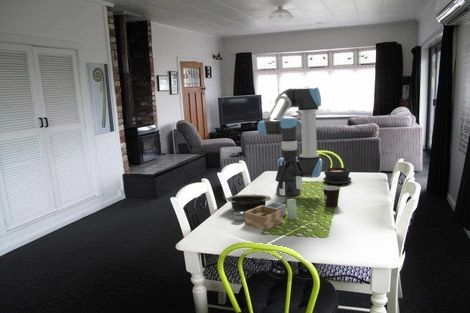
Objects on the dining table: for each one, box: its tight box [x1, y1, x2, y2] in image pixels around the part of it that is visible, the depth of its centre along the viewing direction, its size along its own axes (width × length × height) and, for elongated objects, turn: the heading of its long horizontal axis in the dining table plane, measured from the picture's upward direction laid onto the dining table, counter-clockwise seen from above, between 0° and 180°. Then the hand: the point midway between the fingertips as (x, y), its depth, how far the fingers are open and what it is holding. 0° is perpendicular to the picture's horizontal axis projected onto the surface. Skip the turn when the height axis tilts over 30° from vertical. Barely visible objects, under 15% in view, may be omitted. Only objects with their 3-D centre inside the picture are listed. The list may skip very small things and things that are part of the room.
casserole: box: [322, 167, 352, 185], centre depth 256 cm, size 25×19×8 cm
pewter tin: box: [233, 210, 246, 223], centre depth 190 cm, size 6×6×5 cm
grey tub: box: [265, 201, 287, 217], centre depth 194 cm, size 8×8×6 cm
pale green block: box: [286, 198, 298, 220], centre depth 188 cm, size 4×4×10 cm
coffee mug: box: [322, 185, 340, 209], centre depth 207 cm, size 12×9×10 cm
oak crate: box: [244, 205, 284, 231], centre depth 183 cm, size 13×13×7 cm
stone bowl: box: [225, 193, 272, 212], centre depth 207 cm, size 25×25×9 cm
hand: (290, 191), depth 186 cm, fingers open, 13 cm apart
